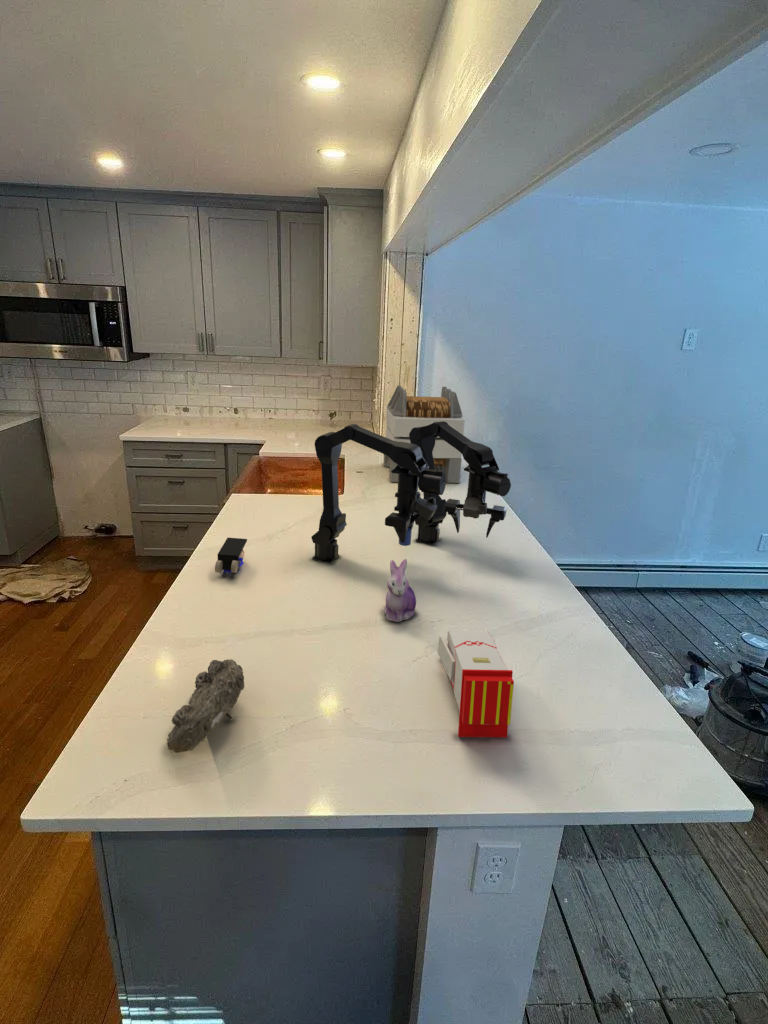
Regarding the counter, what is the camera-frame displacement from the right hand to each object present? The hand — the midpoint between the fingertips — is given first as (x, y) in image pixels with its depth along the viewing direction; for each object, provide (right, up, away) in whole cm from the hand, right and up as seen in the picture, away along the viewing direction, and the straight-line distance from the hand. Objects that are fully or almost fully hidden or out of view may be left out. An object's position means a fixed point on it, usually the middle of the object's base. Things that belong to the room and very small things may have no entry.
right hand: (472, 534), depth 179 cm
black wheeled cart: (-73, -10, -11) cm, 74 cm away
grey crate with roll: (-11, +26, +96) cm, 100 cm away
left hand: (-22, -1, -13) cm, 26 cm away
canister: (-22, -2, -13) cm, 25 cm away
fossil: (-61, -32, -71) cm, 99 cm away
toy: (-10, -30, -60) cm, 68 cm away
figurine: (-24, -19, -31) cm, 44 cm away
